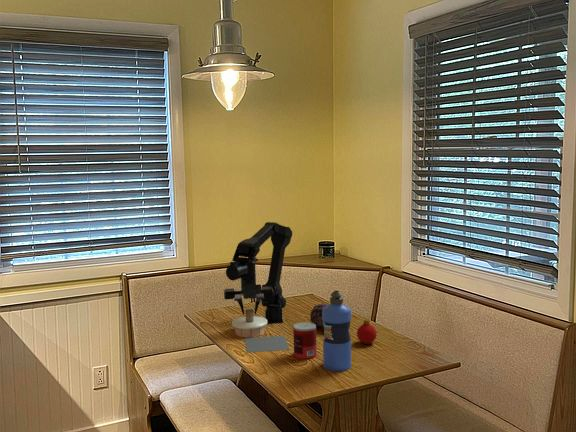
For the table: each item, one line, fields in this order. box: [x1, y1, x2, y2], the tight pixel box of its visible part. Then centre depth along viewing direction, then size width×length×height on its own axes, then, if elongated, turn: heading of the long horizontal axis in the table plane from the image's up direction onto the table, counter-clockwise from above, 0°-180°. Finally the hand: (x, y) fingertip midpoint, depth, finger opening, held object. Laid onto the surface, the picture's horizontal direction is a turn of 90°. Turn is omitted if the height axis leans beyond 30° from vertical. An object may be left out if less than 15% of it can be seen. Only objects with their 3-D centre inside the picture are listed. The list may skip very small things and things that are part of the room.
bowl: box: [234, 325, 266, 338], centre depth 227 cm, size 11×12×4 cm
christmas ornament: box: [356, 316, 378, 345], centre depth 213 cm, size 7×7×10 cm
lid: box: [231, 308, 268, 329], centre depth 227 cm, size 14×14×5 cm
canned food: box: [292, 321, 317, 361], centre depth 201 cm, size 8×8×11 cm
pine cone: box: [309, 303, 330, 329], centre depth 230 cm, size 18×10×10 cm, turn 18°
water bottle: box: [322, 290, 352, 372], centre depth 192 cm, size 9×9×25 cm
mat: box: [244, 335, 291, 354], centre depth 214 cm, size 15×15×1 cm
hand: (249, 314), depth 226 cm, fingers open, 4 cm apart
